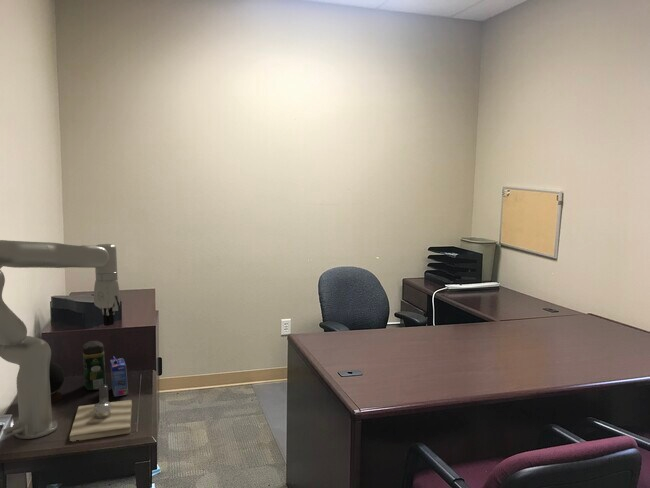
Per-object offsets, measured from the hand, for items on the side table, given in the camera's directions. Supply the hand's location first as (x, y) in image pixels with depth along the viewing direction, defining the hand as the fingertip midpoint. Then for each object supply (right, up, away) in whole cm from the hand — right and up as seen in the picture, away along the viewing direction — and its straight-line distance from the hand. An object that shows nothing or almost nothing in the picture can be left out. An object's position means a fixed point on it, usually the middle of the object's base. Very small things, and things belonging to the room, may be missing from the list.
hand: (108, 324), depth 195 cm
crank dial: (+4, -28, -13) cm, 32 cm away
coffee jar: (-12, -28, +16) cm, 34 cm away
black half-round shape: (-25, -29, +3) cm, 39 cm away
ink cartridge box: (0, -28, +10) cm, 30 cm away
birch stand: (+5, -31, -17) cm, 36 cm away
